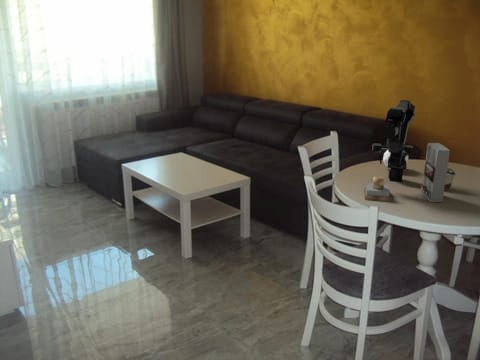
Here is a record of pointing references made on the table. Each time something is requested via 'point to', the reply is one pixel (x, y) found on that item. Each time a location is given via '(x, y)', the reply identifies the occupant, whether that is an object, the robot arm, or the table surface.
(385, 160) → the geodesic sphere
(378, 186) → the tan rounded piece
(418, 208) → the table surface
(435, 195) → the grey handheld device
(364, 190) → the tower base block
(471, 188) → the table surface
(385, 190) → the tower top block
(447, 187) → the food container
